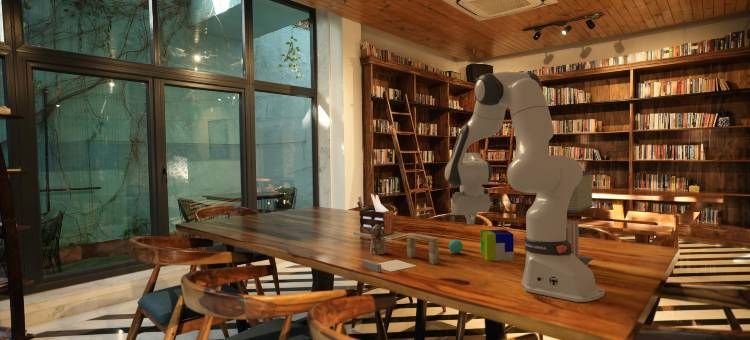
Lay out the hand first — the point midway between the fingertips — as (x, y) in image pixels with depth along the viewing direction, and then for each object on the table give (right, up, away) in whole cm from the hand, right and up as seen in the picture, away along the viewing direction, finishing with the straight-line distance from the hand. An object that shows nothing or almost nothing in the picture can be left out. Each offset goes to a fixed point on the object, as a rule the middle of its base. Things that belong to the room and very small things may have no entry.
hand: (470, 223), depth 176 cm
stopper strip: (-42, -13, -28) cm, 52 cm away
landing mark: (-34, -12, -24) cm, 43 cm away
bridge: (-22, -12, -16) cm, 30 cm away
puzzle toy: (+7, -12, -14) cm, 19 cm away
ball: (-7, -9, -6) cm, 13 cm away
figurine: (-39, -12, -2) cm, 41 cm away
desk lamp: (+26, -12, -30) cm, 41 cm away
